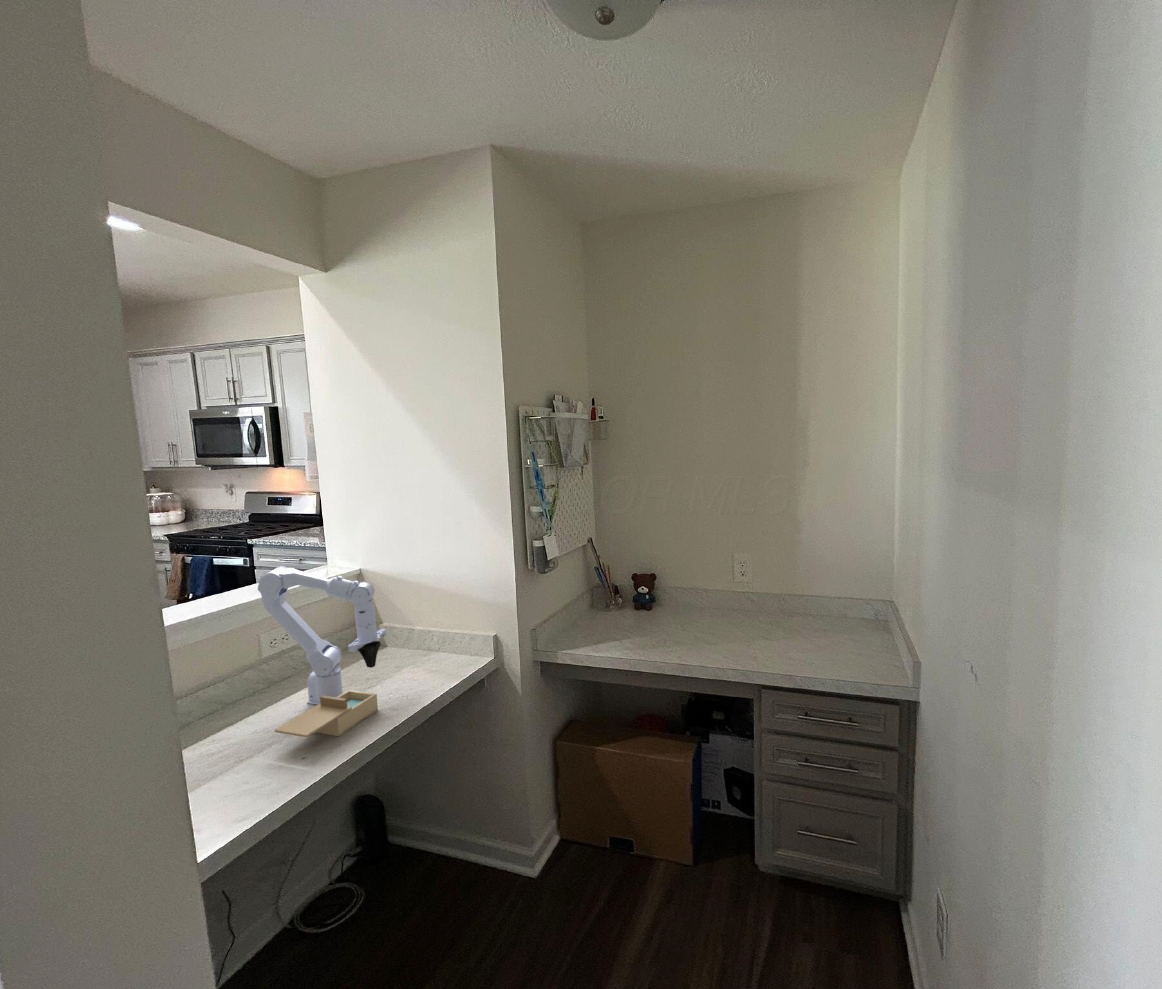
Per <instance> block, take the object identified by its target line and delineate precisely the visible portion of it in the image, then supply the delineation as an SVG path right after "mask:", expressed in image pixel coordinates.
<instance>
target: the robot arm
mask: <svg viewBox="0 0 1162 989" xmlns="http://www.w3.org/2000/svg"><path fill="white" fill-rule="evenodd" d="M296 586H301V587H306V588H312V589H317V590H321V591H325V593H326V594H327V595H328V596H329V597H333V598H336V599H337V598H338V599H341V600H344V601H345V600H346V601H350V602H351V603H352V604H353V607H354V608H353V609H354V617H355V618H354V619H355V627H356V628H355V629H356V636H357V638H356V639H355V640H354V641H353V642H351V643H350V644H347V645H348V647H347V648H348V653H355V652H357V651H358V652H359V653H360V655H361V657H362V658H363V661H364V663H365V664H366V668H374V667H376V663H377V656H378V652H379V649H380V647H381V641H380V640H381V638H383V637H386V636H387V629H383V628H381V629H379V630H378V628H377V627H378V626H377V620H376V610H375V605H374V604H375V603H374V599H373V597H374V595H375V588H374V586H373V585H372V583H370V582H367V581H361V582H359V580H353V581H352V580H349V579H345V578H343V576H342V575H337V576H333V577H331V578H330V579H329V578H325V577H321V576H318V575H315V574H312V573H309V572H304V571H302V570H299V569H296V568H294V567H286V566H277V567H275V568H274V569H273V570H271V571H269V572H266V573H264V574H263V575H261V576H260V578H259V580H258V586H257V591H258V592H259V593H260V596H261V599H262V603H263V607H264V609H265V611H267V612H268V614H269V615H271V617H272V618H274V620H275V621H276V622H277V623H278V624H279V625H280V627H282V628H283V629H284V630H285V631H286V633H288V634H289V636H290V637H291V638H292V639H293V640H294V641H295V642H296V643H297V644H298V645H299V646H300V648H302V649H303V651H305V653H306V655H305V656H306V661H307V662H308V663H309V664H310V666H311V670H312V672H311V673H309V676H308V678H307V682H306V683H307V684H306V685H307V695H308V700H307V701H306V703H307V704H311V705H315V706H316V705H318V704H320V697H321V696H323V695H324V696H331V697H337V696H339V695H341V694H343V693H344V692H343V680H342V668H341V666H340V662H341V661H342V659H343V654H342V650H341V649H340V648H339V646H335V645H333V644H332V643H330V642H329V641H328V640H326V639H323V638H320V636H319V635H318V634H317V633H316V632H315V630H313V629H312V628H311V627H310V625H309V624H307V622H305V620H304V619H303V618H302V617H301V616H300V615H299V614H298V613H297V611H295V609H293V608H292V606H291V605H289V603H288V602H287V601H286V598H287V594H288V593H287V592H288V589H289V588H293V587H296Z"/></svg>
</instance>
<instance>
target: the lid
mask: <svg viewBox="0 0 1162 989" xmlns="http://www.w3.org/2000/svg"><path fill="white" fill-rule="evenodd" d="M351 709H352V707H348V706H347V699H345V698H338V697H331V696H324V695H323V696H321V697H320V704H318V705H315V706H313V707H311V708H310V709H308V710H306V711H305V712H302V713H301V714H299V715H297V716H296V717H294V718H292V719H291V720H289V721H287V722H286V723H283V724H282V725H280V726H278V727H277V728H275V729H274V733H279V734H284V735H289V736H296V737H302V738H309V737H310V736H312V735H314V734H315V733H316V732H317V731H318V730H320V729H321V728H323V727H325V726H326V725H328V724H329V723H331V722H332V721H334V720H336V719H337V718H339V717H340V716H342V715H344V714H345V713H347V712H348V711H350V710H351Z"/></svg>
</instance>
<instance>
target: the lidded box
mask: <svg viewBox="0 0 1162 989" xmlns="http://www.w3.org/2000/svg"><path fill="white" fill-rule="evenodd" d="M377 694H378V693H375V692H366V691H358V690H352V689H351V690H350V689H348V690H346V691H345V692H343V694H341V695H339V696H337V697H338V698H345V699H347V706H348V707H352V709H351V710H350V711H348V712H347V713H345V714H344V715H342V716H340V717H339V718H337V719H336V720H334V721H332V722H331V723H329V724H328V725H326V726H325V727H323V728H321V729H320V730H318V731H317V732H315V733H317V734H322V735H323V734H324V735H329V736H335V737H340V736H342V735H343V734H345V733H346V732H348V731H349V730H351V729H352V728H354V727H356V726H357V725H359V724H360V723H362V722H363V721H365V720H366V719H367V718H369V717H370V716H372V715H374V713H376V712H378V708H379V707H378V706H379V705H378V695H377Z"/></svg>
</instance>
